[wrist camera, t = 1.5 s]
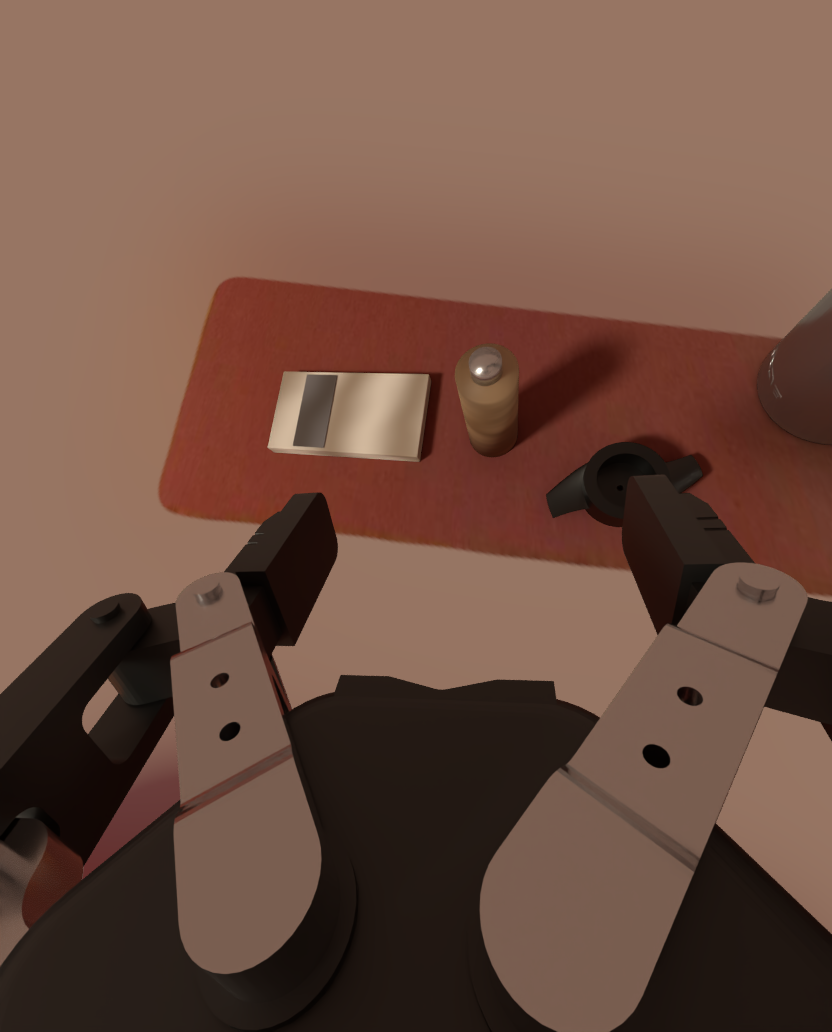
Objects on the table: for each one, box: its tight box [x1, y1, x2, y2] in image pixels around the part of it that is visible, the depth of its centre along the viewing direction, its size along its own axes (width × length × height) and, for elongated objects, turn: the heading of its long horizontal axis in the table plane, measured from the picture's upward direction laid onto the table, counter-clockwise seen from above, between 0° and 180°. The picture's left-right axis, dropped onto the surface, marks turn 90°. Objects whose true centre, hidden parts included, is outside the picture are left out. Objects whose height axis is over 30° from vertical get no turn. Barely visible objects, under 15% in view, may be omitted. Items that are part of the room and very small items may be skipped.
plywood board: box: [268, 372, 431, 462], centre depth 40 cm, size 14×8×1 cm, turn 82°
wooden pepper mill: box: [455, 344, 519, 457], centre depth 33 cm, size 4×4×11 cm
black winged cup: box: [546, 442, 703, 527], centre depth 34 cm, size 8×10×3 cm
